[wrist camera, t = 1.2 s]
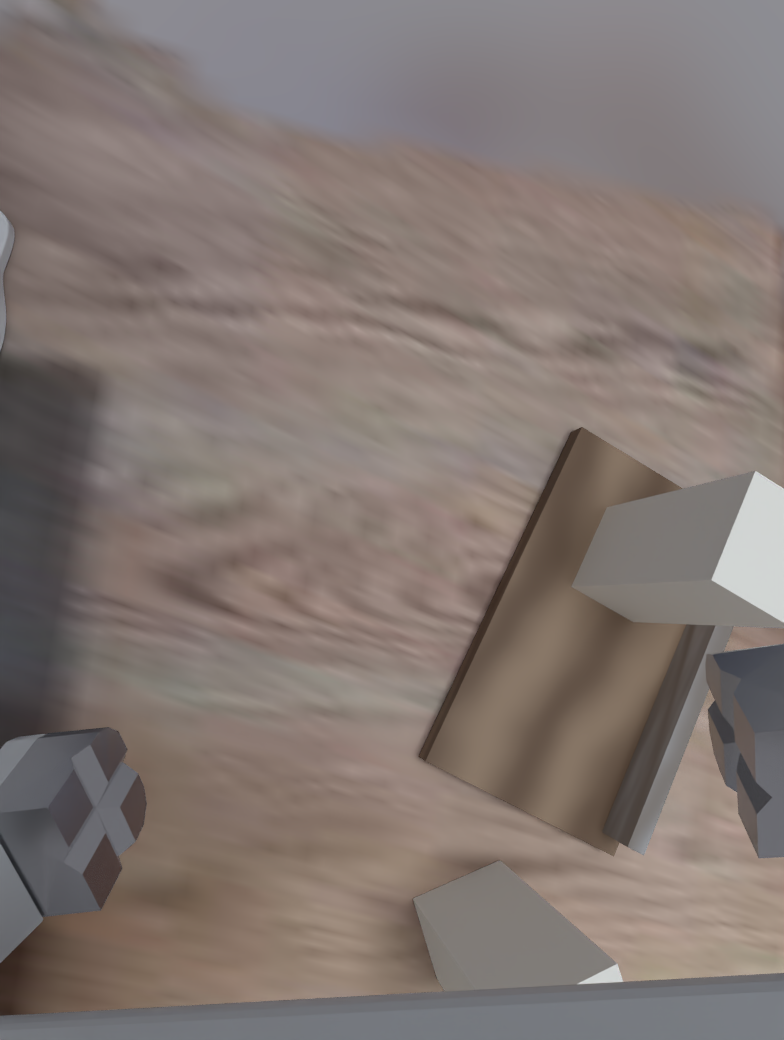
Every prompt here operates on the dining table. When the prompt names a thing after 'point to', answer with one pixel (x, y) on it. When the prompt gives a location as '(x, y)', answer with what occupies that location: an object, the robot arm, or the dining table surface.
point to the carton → (693, 556)
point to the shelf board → (575, 674)
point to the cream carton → (505, 936)
